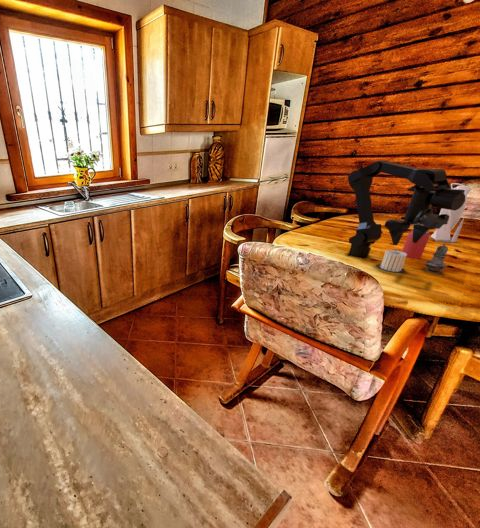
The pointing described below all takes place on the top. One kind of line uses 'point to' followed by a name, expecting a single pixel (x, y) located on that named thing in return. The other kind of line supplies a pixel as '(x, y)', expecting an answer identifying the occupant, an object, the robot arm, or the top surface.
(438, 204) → the robot arm
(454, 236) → the skyscraper
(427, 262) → the dark grey tapered piece
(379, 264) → the towel stand
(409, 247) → the beer can
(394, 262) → the grey ribbed cylinder
